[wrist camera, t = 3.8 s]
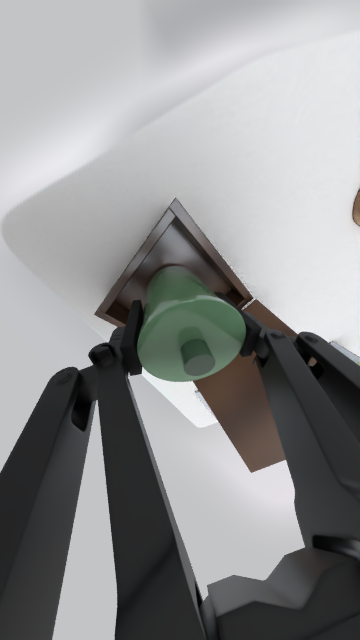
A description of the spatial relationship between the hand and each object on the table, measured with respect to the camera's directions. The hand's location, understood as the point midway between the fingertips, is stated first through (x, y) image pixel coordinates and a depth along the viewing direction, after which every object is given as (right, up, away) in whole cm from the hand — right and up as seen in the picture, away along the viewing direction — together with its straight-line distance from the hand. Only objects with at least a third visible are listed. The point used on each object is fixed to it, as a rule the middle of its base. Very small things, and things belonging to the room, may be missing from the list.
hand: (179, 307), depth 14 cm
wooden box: (-1, +3, +4) cm, 5 cm away
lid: (+8, -8, +1) cm, 12 cm away
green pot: (-1, +2, +3) cm, 3 cm away
